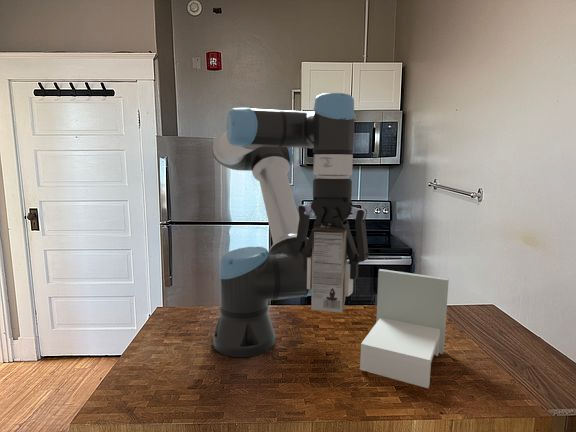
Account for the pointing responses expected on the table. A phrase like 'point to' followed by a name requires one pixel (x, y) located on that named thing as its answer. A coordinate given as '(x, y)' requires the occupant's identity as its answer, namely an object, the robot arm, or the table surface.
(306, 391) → the table surface
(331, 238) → the coffee box
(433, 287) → the white toy chair
